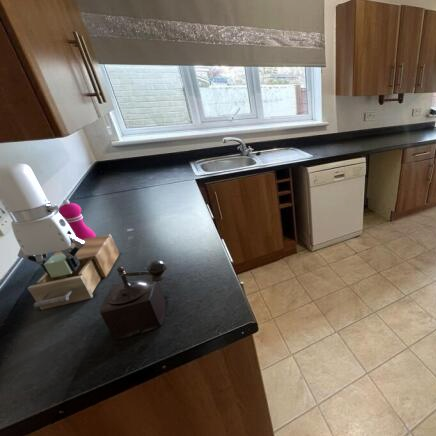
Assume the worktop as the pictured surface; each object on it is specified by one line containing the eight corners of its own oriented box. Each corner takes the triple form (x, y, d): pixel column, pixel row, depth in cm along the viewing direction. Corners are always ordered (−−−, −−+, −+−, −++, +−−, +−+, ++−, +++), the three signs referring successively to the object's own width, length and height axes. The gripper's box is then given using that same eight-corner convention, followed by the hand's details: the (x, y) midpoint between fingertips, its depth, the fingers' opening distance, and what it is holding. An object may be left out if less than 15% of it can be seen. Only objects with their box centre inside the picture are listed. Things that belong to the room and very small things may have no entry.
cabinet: (107, 280, 86) (95, 255, 82) (58, 291, 82) (43, 265, 78) (120, 257, 98) (110, 234, 94) (78, 265, 94) (66, 241, 90)
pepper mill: (99, 240, 110) (78, 194, 101) (100, 247, 105) (78, 200, 96) (76, 247, 106) (52, 199, 97) (76, 254, 101) (50, 205, 92)
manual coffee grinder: (111, 343, 64) (79, 283, 56) (123, 312, 73) (96, 256, 65) (183, 322, 69) (163, 265, 61) (186, 295, 78) (168, 242, 70)
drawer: (85, 311, 73) (72, 288, 69) (31, 323, 69) (15, 300, 66) (107, 272, 88) (98, 252, 85) (65, 281, 85) (53, 261, 81)
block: (51, 277, 74) (43, 264, 72) (59, 268, 78) (51, 255, 76) (71, 273, 75) (64, 260, 74) (78, 265, 79) (71, 252, 77)
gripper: (78, 202, 74) (104, 257, 82) (-2, 213, 69) (34, 270, 77) (66, 212, 68) (95, 270, 76) (-23, 225, 63) (18, 286, 71)
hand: (64, 270), depth 77 cm, fingers closed on block, 4 cm apart
